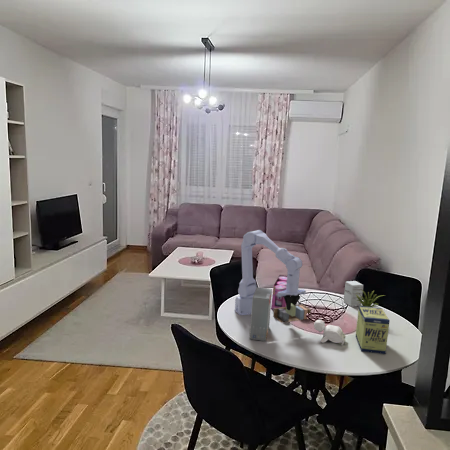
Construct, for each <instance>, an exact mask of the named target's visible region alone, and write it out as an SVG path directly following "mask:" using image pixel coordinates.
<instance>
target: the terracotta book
mask: <svg viewBox="0 0 450 450" xmlns="http://www.w3.org/2000/svg"><path fill="white" fill-rule="evenodd" d="M299 305H300V304H299ZM299 307H300V308H302V309H303V310H304V318H303V319H306V320H308V319H307V317H306V314H307V313H308V309H306V308H305V307H303V306H302V305H300V306H299Z"/></svg>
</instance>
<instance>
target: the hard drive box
mask: <svg viewBox="0 0 450 450" xmlns="http://www.w3.org/2000/svg"><path fill="white" fill-rule="evenodd" d="M272 295H273V288H272V289H271V288H268V287H267V288H264V287H258V286H257V288H256V291H255V293H254V296H253V300H252V313H251V314H250V315H251V316H250V325H249V326H250V328H249V340H253V341H254V340H255V341H256V340H257V341H262V342H266V341H267V337H268V333H269V329H270V323H271V322H270V320H271V310H272V309H271V305H272Z"/></svg>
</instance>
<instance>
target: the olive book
mask: <svg viewBox="0 0 450 450" xmlns="http://www.w3.org/2000/svg"><path fill="white" fill-rule="evenodd" d="M296 306H297V305H296ZM296 306H295V305H293V304H292V303H291V308H290V310H288V309H287V307H286V312H287V313H288V314H289V315H291V316H295V312H296Z"/></svg>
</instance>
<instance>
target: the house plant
mask: <svg viewBox="0 0 450 450" xmlns="http://www.w3.org/2000/svg"><path fill="white" fill-rule="evenodd" d="M362 291H363V293H362V294H363V295H364V297H363V295H362V296H361V295H360V294H359V293H358V292H357V293H358V294H359V295H360V297H361V298H362V300H361V298H360V297H359V296H358V295H356V296H357V298H358V299H359V300H356V301H360V302H359V303H361V305H360V306H366V307H376V308H379V303H377V302H376V301H377V300H378V299H379V298H381V297H383V296H386V295H384V294H383V295H382V294H381V295H377V294H374V292H375V290H373V291H371V292H369V291H368V292H367V293H366V292H365V291H364V289H363V290H362ZM374 302H375V303H374Z"/></svg>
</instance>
